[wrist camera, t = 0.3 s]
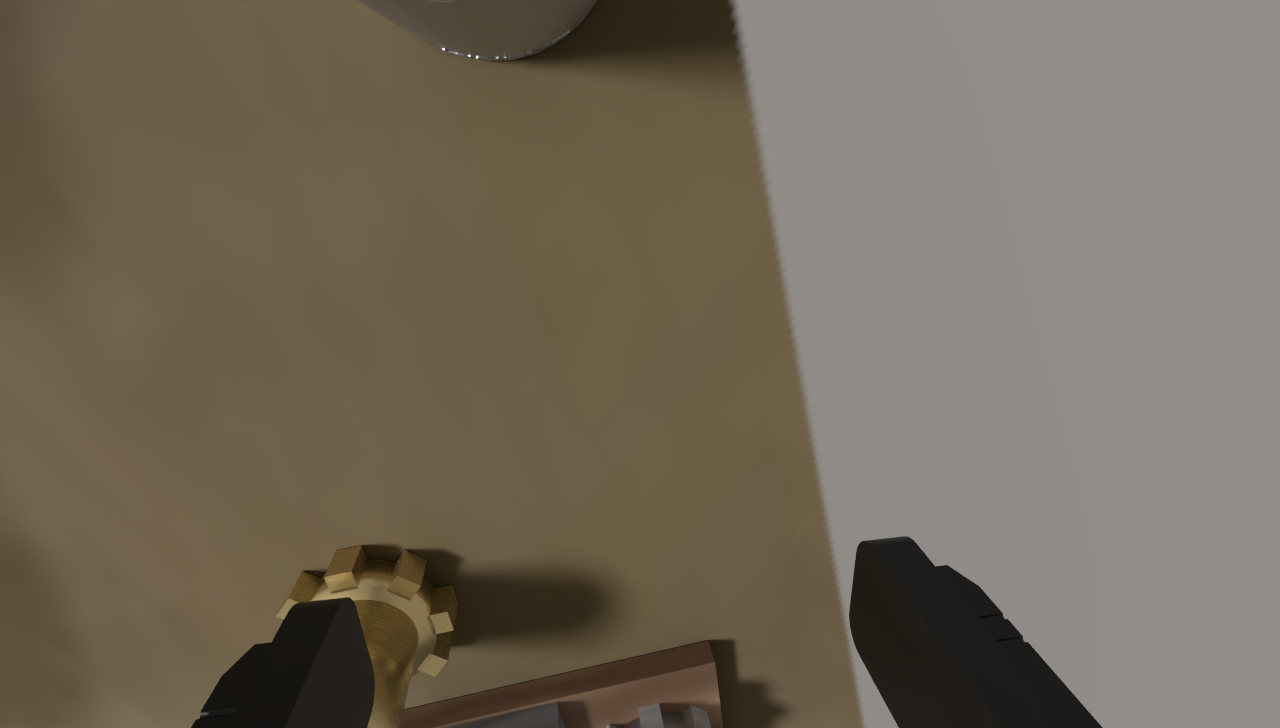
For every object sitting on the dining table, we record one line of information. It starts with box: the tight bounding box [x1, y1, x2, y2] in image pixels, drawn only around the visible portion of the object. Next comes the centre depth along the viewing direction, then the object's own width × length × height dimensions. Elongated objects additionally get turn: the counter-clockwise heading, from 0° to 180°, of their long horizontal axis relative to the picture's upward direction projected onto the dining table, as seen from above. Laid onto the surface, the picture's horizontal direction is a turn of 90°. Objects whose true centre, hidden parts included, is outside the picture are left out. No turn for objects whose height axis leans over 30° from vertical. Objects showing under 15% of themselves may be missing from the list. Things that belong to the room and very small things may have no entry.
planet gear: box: [276, 546, 458, 728], centre depth 26 cm, size 8×8×10 cm
